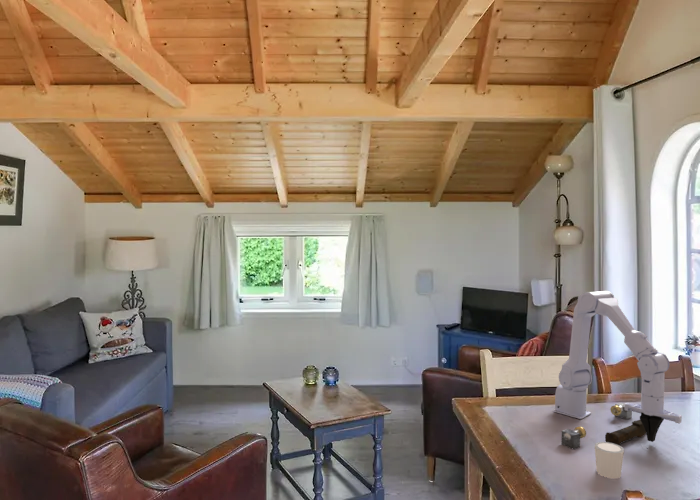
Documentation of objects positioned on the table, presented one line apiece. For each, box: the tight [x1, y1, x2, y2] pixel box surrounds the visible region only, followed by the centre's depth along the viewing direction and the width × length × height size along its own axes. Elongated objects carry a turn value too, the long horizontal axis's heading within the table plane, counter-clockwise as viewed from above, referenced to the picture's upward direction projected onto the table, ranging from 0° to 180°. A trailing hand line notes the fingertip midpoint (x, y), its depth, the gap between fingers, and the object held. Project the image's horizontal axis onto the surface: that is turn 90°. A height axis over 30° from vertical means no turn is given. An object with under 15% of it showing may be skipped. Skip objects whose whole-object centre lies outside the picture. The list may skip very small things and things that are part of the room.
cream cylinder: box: [594, 441, 625, 480], centre depth 133 cm, size 7×7×7 cm
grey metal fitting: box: [561, 426, 587, 450], centre depth 151 cm, size 7×4×5 cm, turn 122°
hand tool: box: [604, 419, 646, 446], centre depth 155 cm, size 19×4×5 cm, turn 119°
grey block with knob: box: [609, 402, 633, 420], centre depth 172 cm, size 7×4×5 cm, turn 122°
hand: (651, 440), depth 151 cm, fingers closed
